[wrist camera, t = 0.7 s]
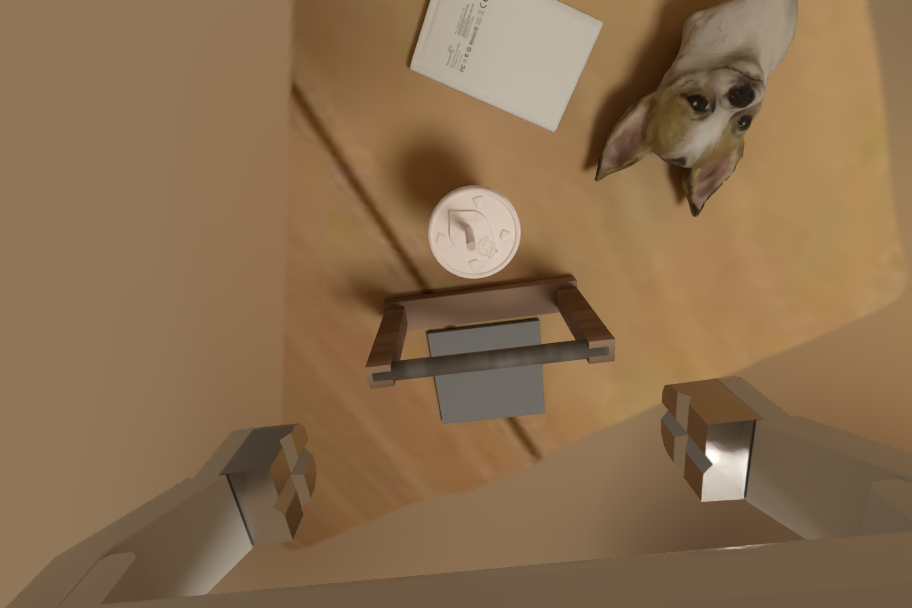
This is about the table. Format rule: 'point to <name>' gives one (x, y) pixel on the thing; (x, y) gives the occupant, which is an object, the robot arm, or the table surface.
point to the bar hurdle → (486, 306)
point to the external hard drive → (508, 53)
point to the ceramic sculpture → (706, 95)
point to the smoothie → (474, 231)
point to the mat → (488, 373)
